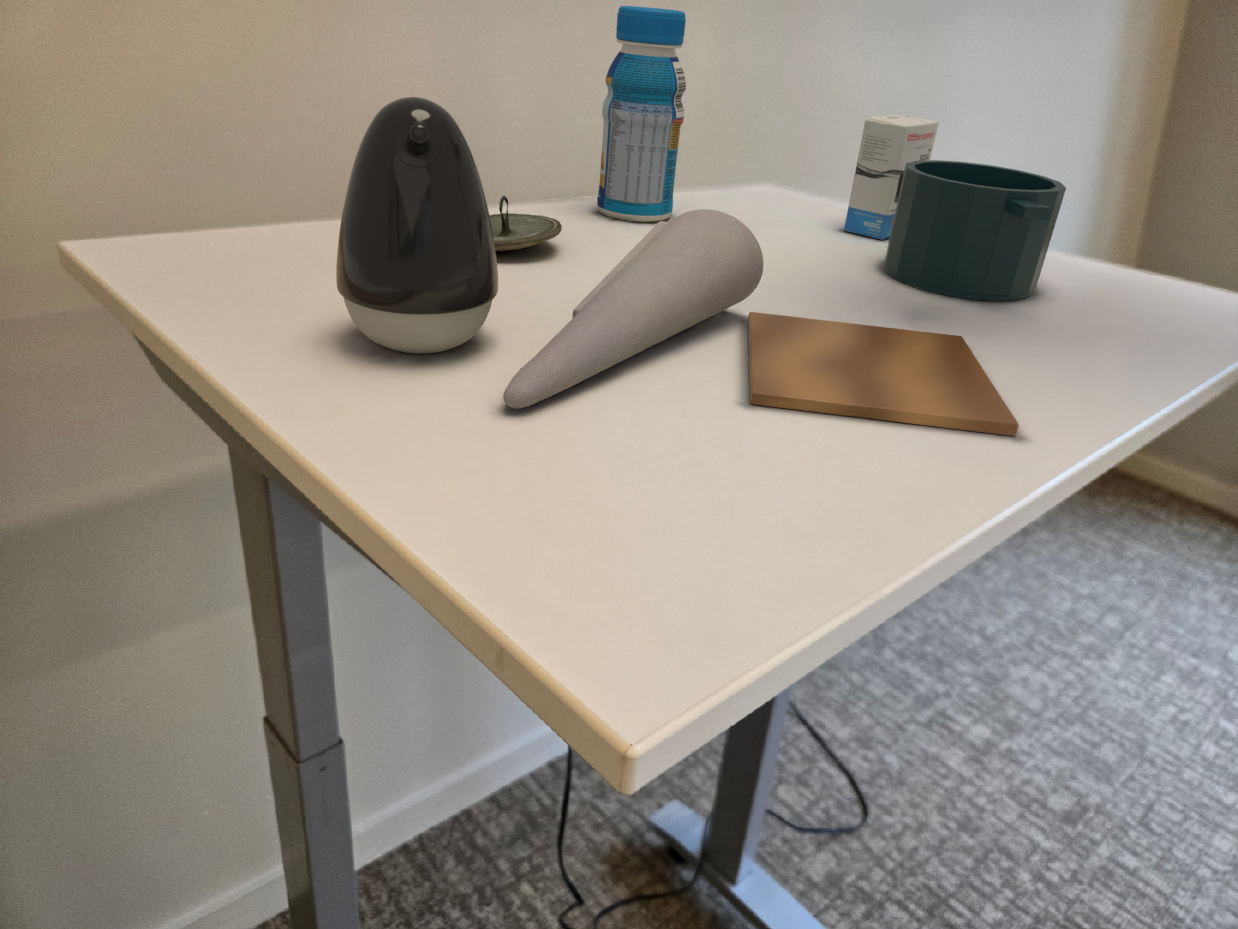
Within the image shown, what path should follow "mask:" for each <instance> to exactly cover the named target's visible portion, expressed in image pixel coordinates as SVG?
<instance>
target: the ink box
mask: <svg viewBox="0 0 1238 929" xmlns="http://www.w3.org/2000/svg"><path fill="white" fill-rule="evenodd" d="M939 125H940V122H939V121H936V120H931V119H925V118H921V117H915V116H910V115H905V114H889V115H888V114H887V115H874V116H868V117H867V118H866V119H865V120H864V125H863V131H862V135H861V140H860V145H859V150H858V156H857V161H856V167H855V171H854V176H853V181H852V185H851V190H850V191H851V192H850V197H849V202H848V207H847V212H846V217H845V222H844V226H843V231H846V232H849V233H853V234H858V235H861V236H864V237H865V236H866V237H870V238H873V239H878V240H886V239H890V234H891V230H892V225H893V220H894V216H895V211H896V207H897V202H898V198H899V193H900V189H901V184H902V179H903V175H904V170H905V166H906V163H910V162H914V161H925V160H931V157H932V153H933V149H934V144H935V141H936V136H937V133H938V128H939Z"/></svg>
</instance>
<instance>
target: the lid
mask: <svg viewBox="0 0 1238 929" xmlns="http://www.w3.org/2000/svg"><path fill="white" fill-rule="evenodd" d="M504 202H505V204H506V212H505V213H504V212H503V207H504ZM508 208H509V200H508V197H507V196H506V195H502V196H501V198H499V207H498V209H499V210H498V211H499V213H497V214H495V213H494V214H489V215H490V220H491V225H492V231H493V237H494V243H495V251H496V252H499V251H502V252H503V251H513V250H520V249H524V248H531V247H534V246H538V245H540V244H542V243H544V242H546V241H547V242H548V241H550V240H552V239H554V238H557V236H558V235H560V233H561V232H562V229H563V228H562V227H563V225H562V223H561V222H560V220H558V219H556V218H553V217H549V216H544V215H539V214H528V213H527V214H524V213H511V212H509V209H508Z"/></svg>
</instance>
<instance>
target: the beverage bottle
mask: <svg viewBox="0 0 1238 929" xmlns="http://www.w3.org/2000/svg"><path fill="white" fill-rule="evenodd" d="M616 17H617V18H616V33H615V38H616V43H619V44H622V46H621V48H620V50H619V51H618V52H617V54H616V55H615V57H614V58H613V60H612V62H611V63H610V66H609V67H608V70H607V73H606V76H605V85H606V88H607V95H606V96H605V98H604V100H603V102H602V106H601V107H602V108H601V114H602V119H603V122H602V123H603V125H602V138H601V139H602V140H601V141H602V142H601V155H600V171H599V172H600V173H599V185H598V193H597V200H596V202H597V203H596V208H597V210H598V211H599V212H600V213H601V214H602V215H604V216H607V217H609V218H613V219H615V220H616V219H617V220H622V221H627V222H638V223H639V222H640V223H653V222H659V221H664V220H667V219H669V218H670V217H671V216H672V214H673V209H674V208H673V207H674V188H675V179H676V170H677V160H678V154H679V142H680V134H681V127H682V125H683V123H684V119H685V107H684V104H683V101H682V99H683V98H682V97H683V94H684V93H685V92H686V89H687V82H686V76H685V72H684V69H683V66H682V64H681V62H680V60H679V58H678V56H677V53H676V49H681V48H682V47H683V44H684V38H685V31H686V21H687V19H686V13H685V11H682V10H676V9H667V8H660V7H659V8H658V7H647V6H636V5H620V6H619V7H618V12H617V15H616Z"/></svg>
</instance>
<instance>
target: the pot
mask: <svg viewBox="0 0 1238 929" xmlns="http://www.w3.org/2000/svg"><path fill="white" fill-rule="evenodd" d="M1066 190H1067V187H1066V186H1065V185H1064V184H1063V183H1062V182H1060V181H1059V180H1055V179H1053V178H1050V177H1048V176H1045V175H1041V174H1036V173H1032V172H1028V171H1025V170H1019V169H1014V168H1008V167H1002V166H999V165H991V164H984V163H975V162H967V161H956V160H941V159H940V160H939V159H934V160H933V159H930V160H925V161H914V162H910V163H906V166H905V170H904V175H903V179H902V184H901V189H900V193H899V198H898V202H897V207H896V211H895V216H894V220H893V225H892V230H891V234H890V237H889V238H888V244H887V249H886V252H885V256H884V257H885V258H884V265H883V269H884V272H886V274H887V275H889V276H890V277H892V278H893V279H895V280H897V281H899V282H901V283H903V284H905V285H908V286H911V287H913V288H917V289H920V290H924V291H926V292H931V293H935V294H939V295H941V296H942V295H943V296H948V297H954V298H958V299H959V298H960V299H966V300H973V301H983V302H984V301H985V302H986V301H987V302H1013V301H1020V300H1024V299H1027V298H1029V297H1031V296H1032V295H1033V294H1034V291H1035V290H1036V289H1037V286H1038V283H1039V281H1040V280H1039V279H1040V276H1041V273H1042V270H1043V267H1044V263H1045V259H1046V256H1047V254H1048V250H1049V246H1050V243H1051V239H1052V236H1053V234H1054V230H1055V227H1056V224H1057V220H1058V216H1059V213H1060V210H1061V206H1062V204H1063V200H1064V197H1065V194H1066Z"/></svg>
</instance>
